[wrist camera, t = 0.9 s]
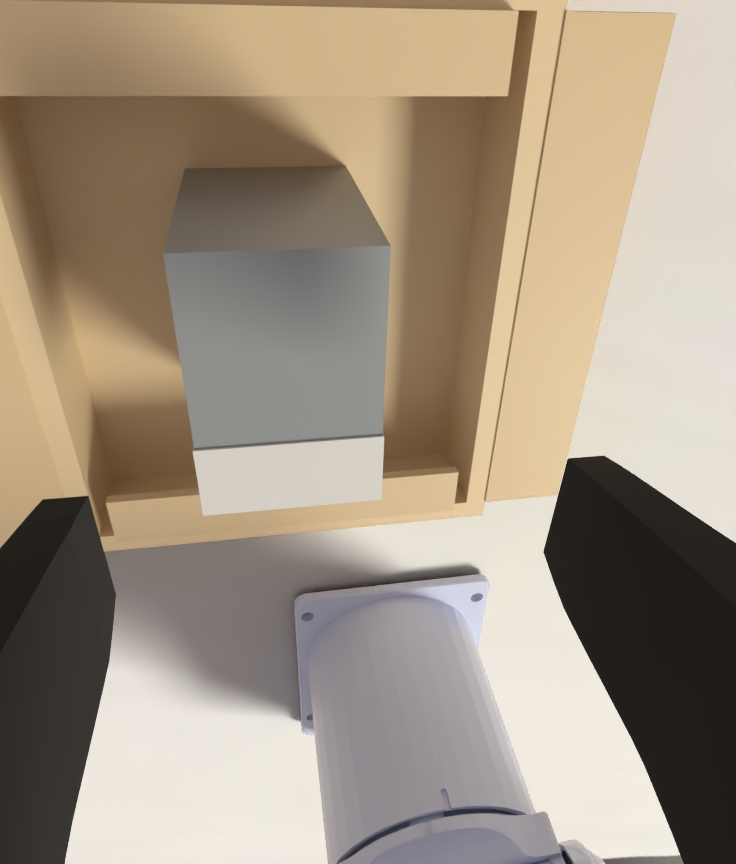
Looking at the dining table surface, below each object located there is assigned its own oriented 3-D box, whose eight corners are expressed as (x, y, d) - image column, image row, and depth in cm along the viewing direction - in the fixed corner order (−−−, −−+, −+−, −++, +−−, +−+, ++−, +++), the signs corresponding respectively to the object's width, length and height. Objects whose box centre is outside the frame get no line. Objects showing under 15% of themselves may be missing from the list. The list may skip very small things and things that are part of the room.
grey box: (346, 371, 20) (381, 499, 15) (211, 379, 20) (203, 516, 15) (346, 165, 17) (392, 246, 12) (183, 168, 16) (160, 254, 11)
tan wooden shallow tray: (520, 453, 24) (556, 514, 21) (22, 495, 21) (-8, 570, 19) (614, -23, 16) (692, -22, 13) (-176, -47, 13) (-281, -51, 10)
